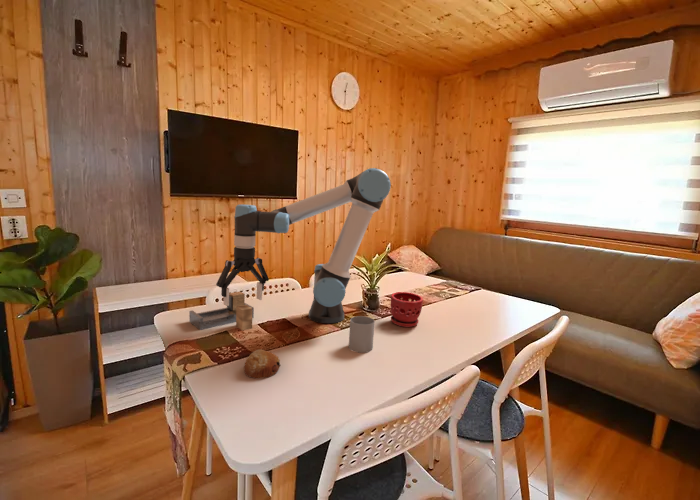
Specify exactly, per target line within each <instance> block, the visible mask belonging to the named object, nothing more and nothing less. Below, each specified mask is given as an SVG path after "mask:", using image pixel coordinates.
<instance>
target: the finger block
mask: <svg viewBox="0 0 700 500" xmlns="http://www.w3.org/2000/svg"><path fill="white" fill-rule="evenodd" d="M235 328H238V329H239V330H240V331H242V332H243V331H247V330H250V329H253V318H252V308H251V307H249V306H247V305H243V306H237V307H236V322H235Z"/></svg>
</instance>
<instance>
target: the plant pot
mask: <svg viewBox="0 0 700 500" xmlns="http://www.w3.org/2000/svg"><path fill="white" fill-rule="evenodd" d="M423 301H424V299H423V297H422V296H421V295H418V294H416V293H412V292H408V291H399V292H397V291H396V292H394V293H392V294H391V295H390V311H391V317H390V320H391V322H392V324H394V325H396V326H399V327H405V328H412V327H416V326H417V325H418V324H419V317H420V315H421V312H422V308H423Z"/></svg>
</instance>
